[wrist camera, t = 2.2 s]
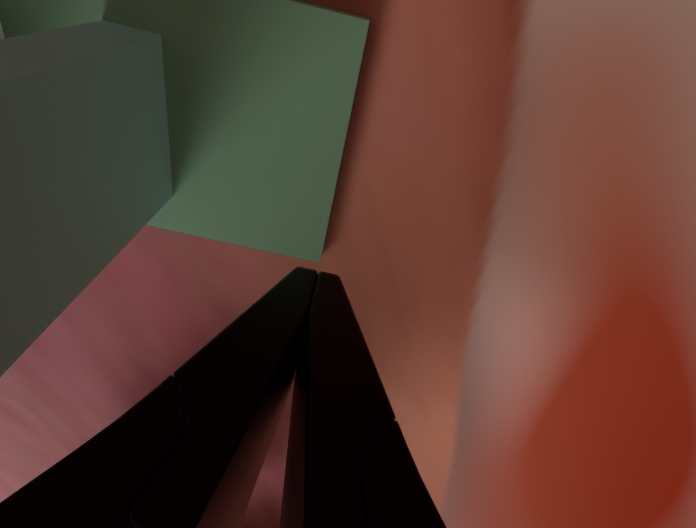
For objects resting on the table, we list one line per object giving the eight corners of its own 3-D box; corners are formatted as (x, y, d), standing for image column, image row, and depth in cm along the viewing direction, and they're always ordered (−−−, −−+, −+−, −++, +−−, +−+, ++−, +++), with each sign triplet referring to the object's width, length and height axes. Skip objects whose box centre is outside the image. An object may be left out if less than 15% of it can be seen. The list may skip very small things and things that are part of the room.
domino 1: (172, 195, 14) (-127, 509, 6) (126, 185, 14) (-242, 489, 6) (161, 34, 11) (-490, 228, 3) (102, 20, 11) (-739, 177, 3)
